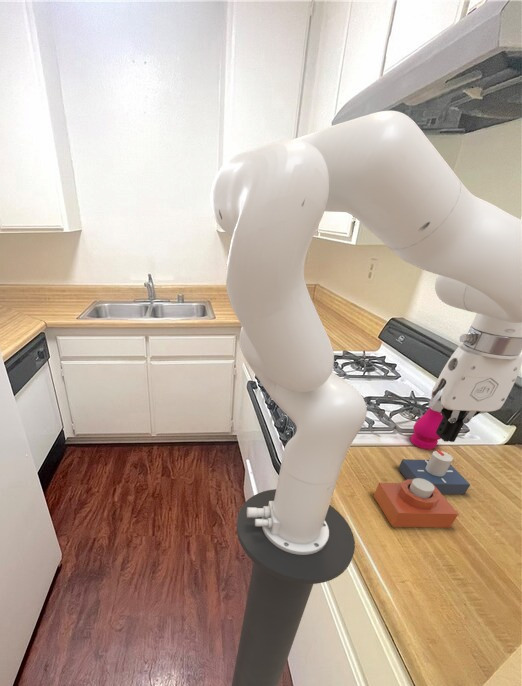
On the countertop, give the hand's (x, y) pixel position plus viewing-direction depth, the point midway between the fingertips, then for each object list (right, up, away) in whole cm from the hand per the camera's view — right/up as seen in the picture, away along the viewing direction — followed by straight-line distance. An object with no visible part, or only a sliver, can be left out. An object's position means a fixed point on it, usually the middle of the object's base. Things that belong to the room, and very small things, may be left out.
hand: (444, 437), depth 65 cm
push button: (-1, -11, +6) cm, 13 cm away
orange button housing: (-1, -16, +9) cm, 18 cm away
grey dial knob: (+9, -8, +16) cm, 20 cm away
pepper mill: (+16, -2, +31) cm, 35 cm away
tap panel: (+9, -11, +18) cm, 23 cm away
